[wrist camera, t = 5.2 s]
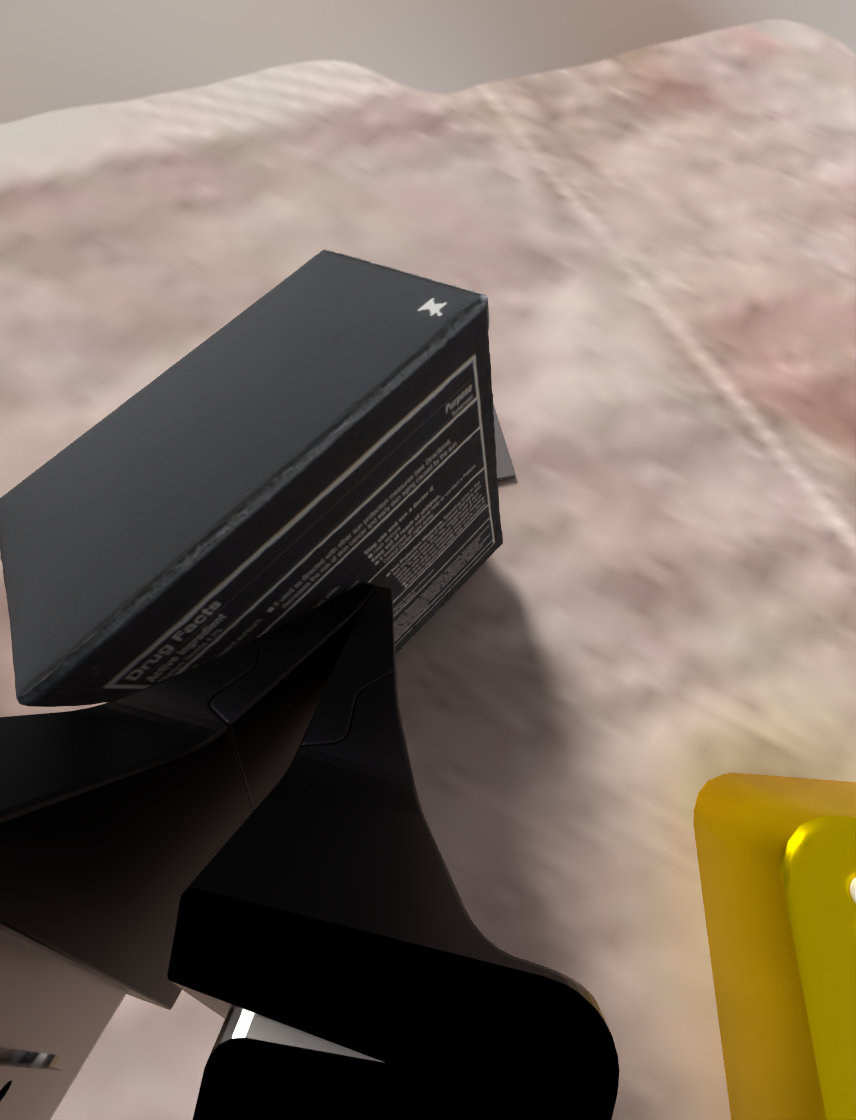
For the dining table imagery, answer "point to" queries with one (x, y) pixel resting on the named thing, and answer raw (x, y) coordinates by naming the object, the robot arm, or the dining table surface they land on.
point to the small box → (261, 485)
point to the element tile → (782, 941)
